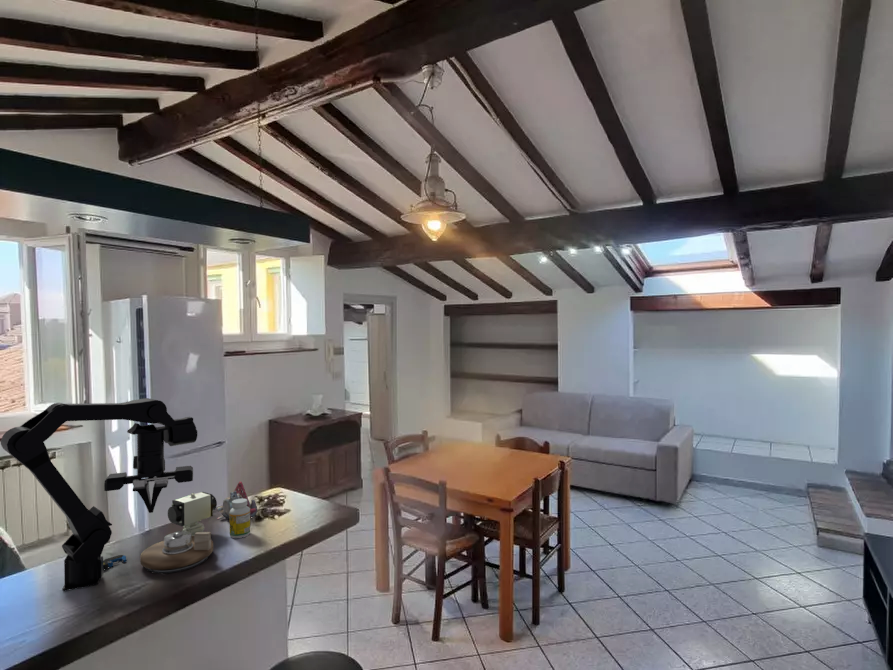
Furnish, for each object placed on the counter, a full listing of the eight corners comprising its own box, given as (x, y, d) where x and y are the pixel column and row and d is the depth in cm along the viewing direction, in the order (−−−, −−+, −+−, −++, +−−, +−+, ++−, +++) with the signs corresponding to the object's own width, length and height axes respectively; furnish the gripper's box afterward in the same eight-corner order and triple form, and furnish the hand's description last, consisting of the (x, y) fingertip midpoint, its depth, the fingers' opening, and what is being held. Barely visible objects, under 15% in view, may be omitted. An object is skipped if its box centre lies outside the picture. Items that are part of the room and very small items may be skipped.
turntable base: (142, 578, 117) (142, 573, 117) (148, 554, 130) (147, 550, 130) (209, 566, 123) (209, 561, 123) (208, 544, 136) (208, 540, 136)
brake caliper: (270, 508, 156) (247, 482, 151) (243, 538, 150) (218, 512, 144) (252, 500, 164) (230, 475, 159) (225, 528, 158) (201, 504, 152)
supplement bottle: (251, 536, 141) (250, 502, 141) (230, 540, 138) (229, 505, 138) (249, 529, 146) (249, 496, 146) (229, 533, 143) (228, 499, 143)
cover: (184, 555, 123) (183, 538, 123) (156, 554, 123) (156, 538, 123) (198, 543, 130) (198, 527, 130) (172, 543, 130) (171, 527, 130)
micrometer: (123, 551, 129) (130, 557, 125) (123, 559, 129) (130, 565, 125) (66, 567, 120) (71, 573, 116) (66, 575, 120) (71, 582, 116)
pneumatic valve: (217, 531, 145) (217, 489, 145) (177, 546, 135) (176, 500, 135) (206, 527, 148) (205, 486, 148) (165, 541, 138) (165, 497, 138)
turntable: (193, 569, 118) (192, 546, 118) (125, 569, 119) (124, 546, 119) (224, 541, 134) (224, 520, 134) (164, 541, 135) (164, 520, 135)
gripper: (193, 439, 138) (193, 497, 138) (111, 446, 130) (111, 507, 130) (192, 448, 128) (192, 510, 128) (103, 456, 119) (104, 522, 120)
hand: (151, 512), depth 126 cm, fingers closed
